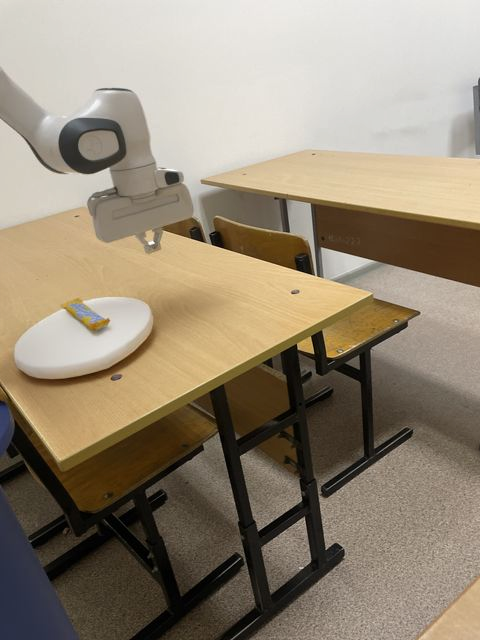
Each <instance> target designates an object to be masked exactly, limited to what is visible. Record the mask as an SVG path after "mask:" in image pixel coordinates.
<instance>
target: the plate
mask: <svg viewBox="0 0 480 640" xmlns="http://www.w3.org/2000/svg"><path fill="white" fill-rule="evenodd" d="M82 303H84V304H85V305H86V306H88V307H89V308H90V309H91V310H92V311H94V312H96V313H97V314H98V315H100V316H101V317H103V318H104V319H107V318H109V320H110V322H109V324H108V325H106V326H104V327H102V328H100V329H98V330H97V331H94V330H90V328H88V327H87V326H86V325H84V324H83V323H81V322H80V321H79V320H77V319H76V318H75V317H74V316H73V315H71V314H70V313H69V312H67V311H66V309H63V308H61V309H60V310H57V311H56V312H53V313H52V314H50V315H48V316H46V317H44V318H42V320H40V321H38V322H37V323H35V324H33V325H32V326H31V327H30V328H28V329H27V330H26V331H24V332H23V334H22V335H21V336H20V337H19V339H18V340H17V342H16V343H15V345H14V348H13V355H14V356H13V358H14V364H15V366H16V368H17V369H19V370H20V371H21V372H23V373H24V374H26V375H27V376H29V377H32V378H36V379H45V380H59V379H68V378H75V377H81V376H85V375H89V374H93V373H98V372H101V371H103V370H107V369H109V368H111V367H112V366H114V365H116V364H117V363H119V362H120V361H122V360H124V359H125V358H127V357H128V356H130V355H131V354H132V353H134V352H135V351H136V350H137V349H138V348H139V347H140V346H141V345H142V344H143V343H144V342H145V341H146V340H147V339H148V337H149V336H150V334H151V333H152V330H153V326H154V316H153V311H152V309H151V307H150V306H149V305H148V303H147V302H144V301H143V300H140V299H138V298H133V297H125V296H106V297H105V296H103V297H96V298H91V299H87V300H82Z"/></svg>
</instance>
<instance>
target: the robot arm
mask: <svg viewBox="0 0 480 640" xmlns="http://www.w3.org/2000/svg"><path fill="white" fill-rule="evenodd" d="M0 119H1V120H2V121H3V122H4V124H7V125H8V126H9V127H10V128H12V130H14V131H15V132H16V133H17V134H18V135H20V137H21V138H22V139H23V140H24V141H25V143H26V144H27V145H28V147H29V148H30V150H31V152H32V153H33V154H34V156H35V158H36V160H37V161H38V162H39V164H41V165H42V166H43V167H44V168H45V169H47V170H48V171H50V172H52V173H54V174H59V175H70V174H71V175H78V176H79V175H81V176H92V175H96V174H98V173H100V172H103V171H104V170H106V169H108V171H109V172H108V173H109V175H110V179H111V182H112V183H111V184H112V186H113V187H109V188H106V189H103V190H100V191H98V190H97V191H94V192H92V194H91V195H90V196H89V197H88V199H87V201H86V204H87V209H88V212H89V215H90V216H91V218H92V225H93V229H94V234H95V237H96V239H97V240H98V241H101V242H102V243H104V244H110V243H113V242H117V241H120V240H124V239H127V238H130V237H133V236H135V238H136V240H137V241H138V242H139V243H140V244H141V245H142V246H143V249H144V253H145V254H147V255H150V254H152V253H156V252H159V251H161V250H162V246H161V241H162V237H163V233H164V231H163V230H164V229H163V227H165V226H169V225H172V224H175V223H178V222H179V223H180V222H181V221H185V220H188V219H192V218H193V216H194V212H195V209H194V203H193V201H192V196H191V192H190V190H189V188H188V186H187V185H186V184H185V183H184V181H185V176H184V173H183V172H182V171H181V170H176V169H171V168H170V169H169V168H166V167H158V164H157V159H156V157H155V155H154V154H153V151H152V147H151V142H152V141H151V140H152V139H151V137H152V136H151V132H150V128H149V125H148V120H147V117H146V113H145V110H144V107H143V104H142V101H141V100H140V98H139V96H138V94H137V93H135V92H134V91H133V90H131V89H128V88H124V87H101V88H96V89H95V90H94V91H93V92H92V95H91V96H90V97H89V98H88V99H87V100H86V102H84V104H83V105H81V106H80V107H79V108H78V109H76V110H75V111H73V112H72V113H70V115H68V116H62V115H58V114H55V113H53V112H50V111H49V110H47V109H45V108H44V107H42V105H41V104H40V103H38V102H37V100H35V99H34V98H33V97H32V96H31V95H30V94H29V93H27V92H26V91H25V90H24V89H23V88H22V87H21V86H20V85H19V84H17V82H15V81H14V80H13V79H12V78H11V77H10V76H9V75H8V74H7V72H6V71H5V70H4V68H3V67H2V65H1V64H0ZM149 231H151V232H152V233H154V234H153V239H152V241H149V242H148V241H147V240H146V239H145V238H147V233H146V232H149Z"/></svg>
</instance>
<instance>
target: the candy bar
mask: <svg viewBox="0 0 480 640" xmlns="http://www.w3.org/2000/svg"><path fill="white" fill-rule="evenodd" d="M82 302H83V300H82V298H80V297H77V298H74V299H71V300H69V301H67V302H66V303H62V304H61V305H60V307H61V309H66V311H67V312H69V313H70V314H71V315H73V316H74V317H75V318H76V319H77V320H79V321H80V322H81V323H83V324H84V325H86V326H87V327H88V328H90V330H94V331H97V330H98V329H100V328H102V327H104V326H106V325H108V324H109V322H110V320H109V318H107V319H104V318H103V317H101V316H100V315H98V314H97V313H96V312H94V311H92V310H91V309H90V308H89V307H88V306H86V305H85V304H84V303H82Z"/></svg>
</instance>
